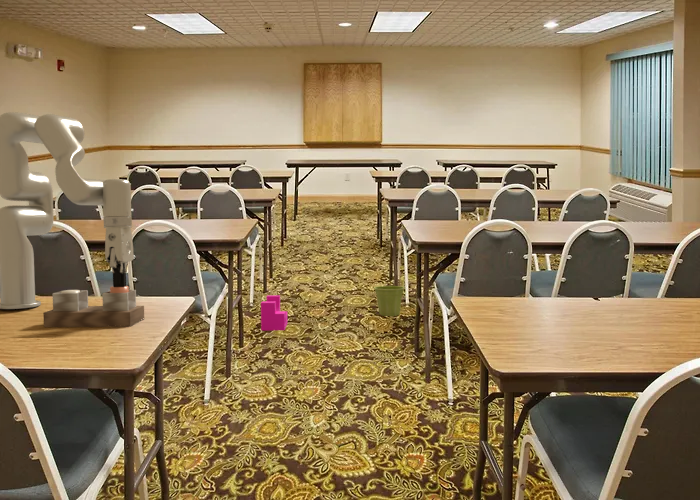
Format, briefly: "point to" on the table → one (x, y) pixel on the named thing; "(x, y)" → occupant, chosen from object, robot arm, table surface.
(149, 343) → the table surface
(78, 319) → the button box
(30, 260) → the robot arm
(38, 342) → the table surface
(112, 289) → the plunger salmon pink
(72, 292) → the plunger white
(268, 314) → the toy block
